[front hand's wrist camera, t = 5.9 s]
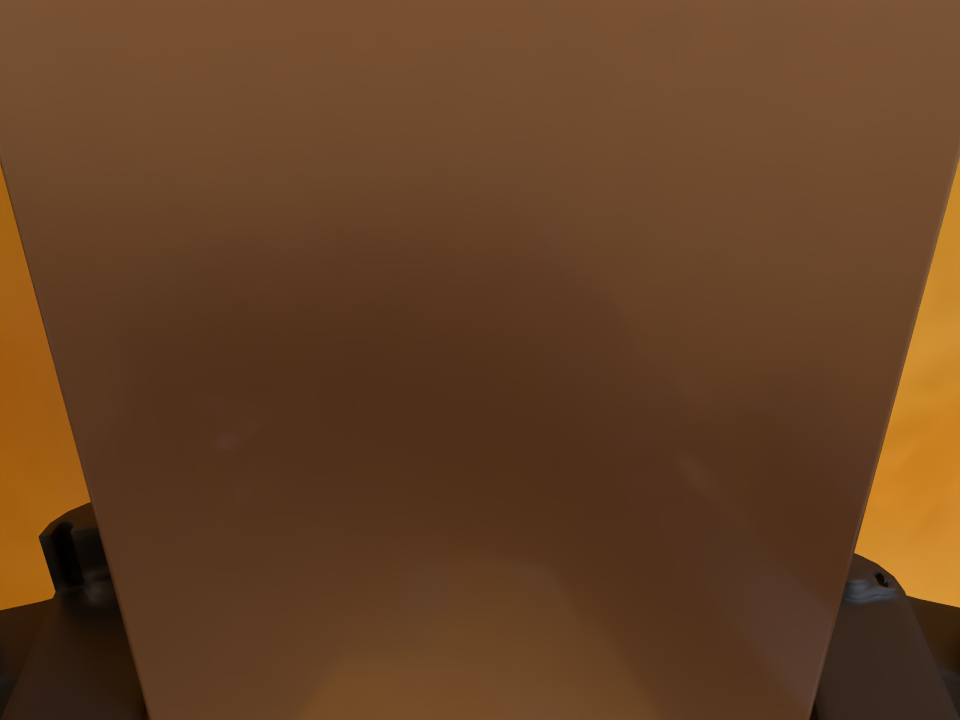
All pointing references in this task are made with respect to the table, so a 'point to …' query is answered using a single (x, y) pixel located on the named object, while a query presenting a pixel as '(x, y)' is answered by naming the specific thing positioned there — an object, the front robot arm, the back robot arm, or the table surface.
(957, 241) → the table surface
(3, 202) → the table surface
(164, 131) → the bar
